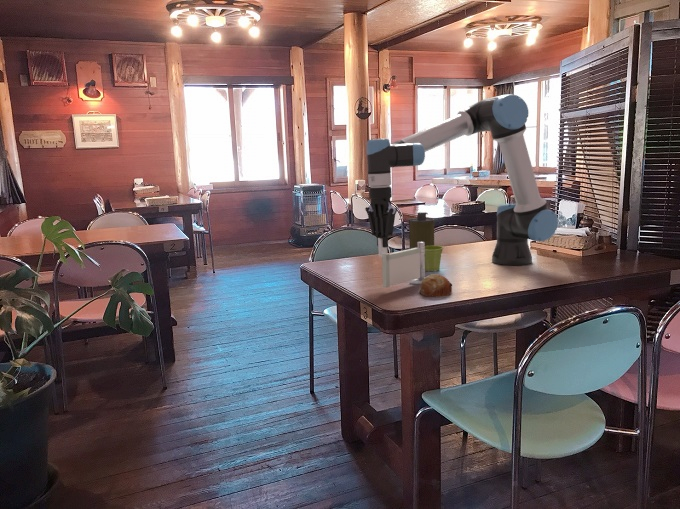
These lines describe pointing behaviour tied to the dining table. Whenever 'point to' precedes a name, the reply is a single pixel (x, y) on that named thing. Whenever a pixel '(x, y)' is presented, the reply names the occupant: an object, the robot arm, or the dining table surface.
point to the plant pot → (432, 257)
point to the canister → (421, 230)
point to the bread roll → (435, 286)
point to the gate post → (422, 264)
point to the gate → (400, 266)
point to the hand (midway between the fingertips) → (383, 256)
